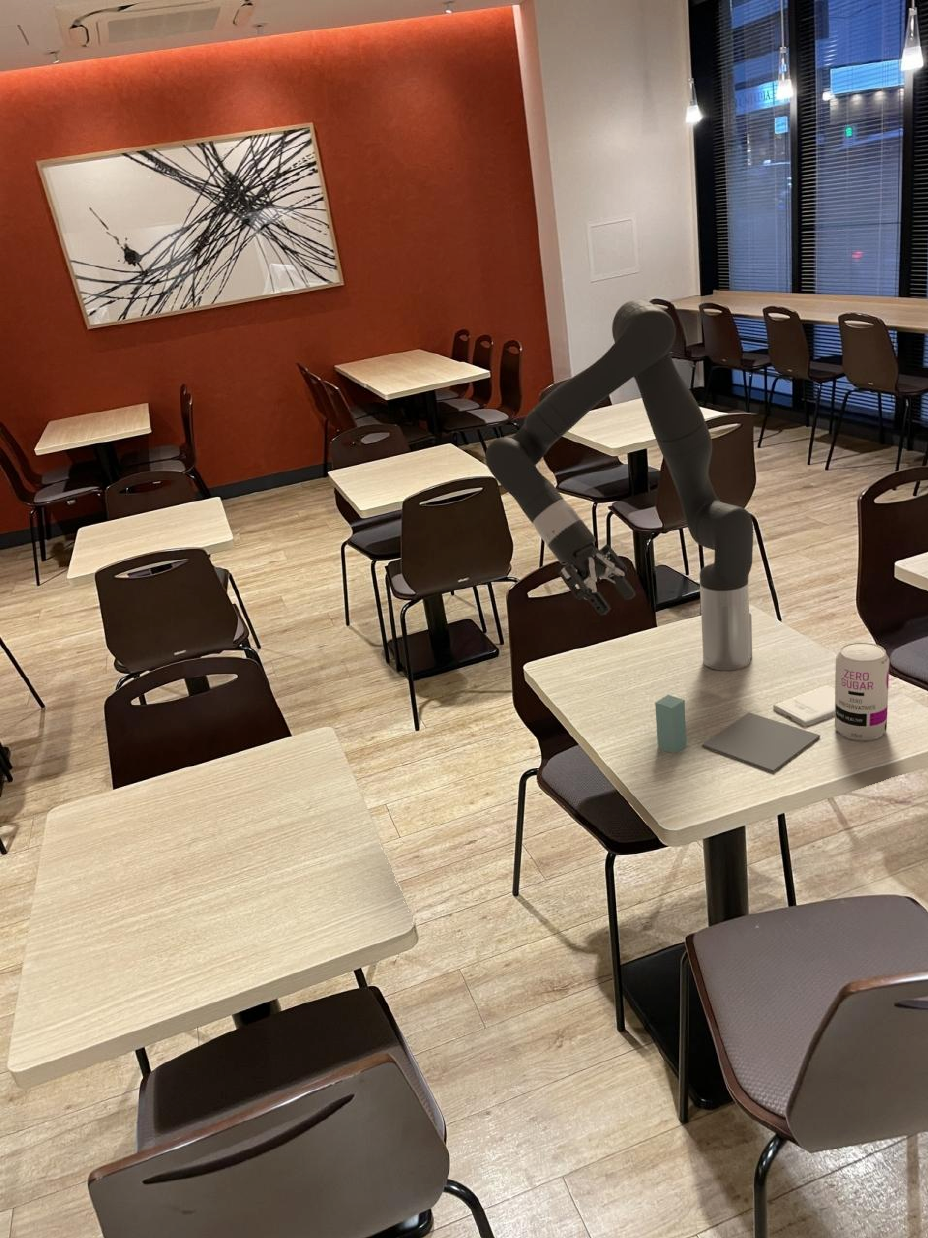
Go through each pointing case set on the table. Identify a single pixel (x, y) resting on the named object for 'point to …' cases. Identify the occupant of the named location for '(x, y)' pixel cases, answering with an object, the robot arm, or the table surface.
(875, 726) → the supplement can
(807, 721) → the external hard drive
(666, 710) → the teal block
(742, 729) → the gray mat
